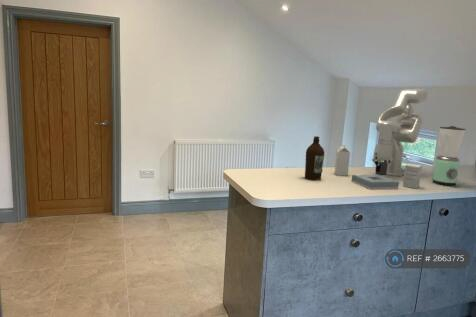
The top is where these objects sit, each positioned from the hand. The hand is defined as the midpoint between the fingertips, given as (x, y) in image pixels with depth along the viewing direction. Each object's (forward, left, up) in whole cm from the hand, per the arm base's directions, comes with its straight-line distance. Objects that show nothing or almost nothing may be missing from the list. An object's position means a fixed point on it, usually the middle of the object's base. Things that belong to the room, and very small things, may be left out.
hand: (381, 171), depth 225 cm
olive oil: (+46, -2, -5) cm, 46 cm away
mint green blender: (-34, +14, -5) cm, 38 cm away
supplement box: (-5, +20, -5) cm, 22 cm away
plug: (0, 0, -2) cm, 2 cm away
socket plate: (+16, +15, -5) cm, 22 cm away
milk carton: (+21, -12, -5) cm, 24 cm away
